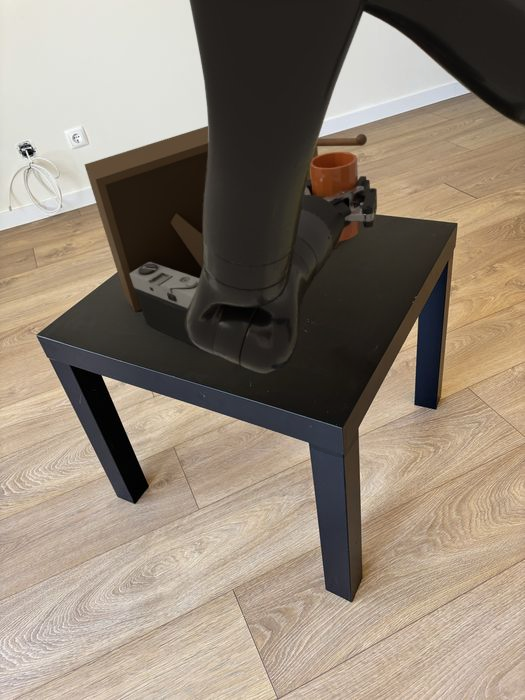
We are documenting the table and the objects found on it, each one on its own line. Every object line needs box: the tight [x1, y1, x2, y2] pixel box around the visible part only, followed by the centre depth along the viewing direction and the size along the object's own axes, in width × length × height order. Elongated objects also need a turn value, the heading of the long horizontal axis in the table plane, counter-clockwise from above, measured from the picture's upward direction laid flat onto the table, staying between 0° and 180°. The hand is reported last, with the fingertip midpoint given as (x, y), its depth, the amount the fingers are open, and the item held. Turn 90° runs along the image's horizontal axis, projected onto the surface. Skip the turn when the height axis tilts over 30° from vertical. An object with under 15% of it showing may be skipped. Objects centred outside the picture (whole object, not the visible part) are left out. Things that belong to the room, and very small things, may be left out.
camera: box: [130, 262, 199, 348], centre depth 79 cm, size 14×8×10 cm, turn 50°
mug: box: [310, 151, 360, 242], centre depth 73 cm, size 10×6×10 cm, turn 158°
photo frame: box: [84, 125, 208, 313], centre depth 81 cm, size 15×22×25 cm
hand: (339, 183), depth 72 cm, fingers closed on mug, 6 cm apart
